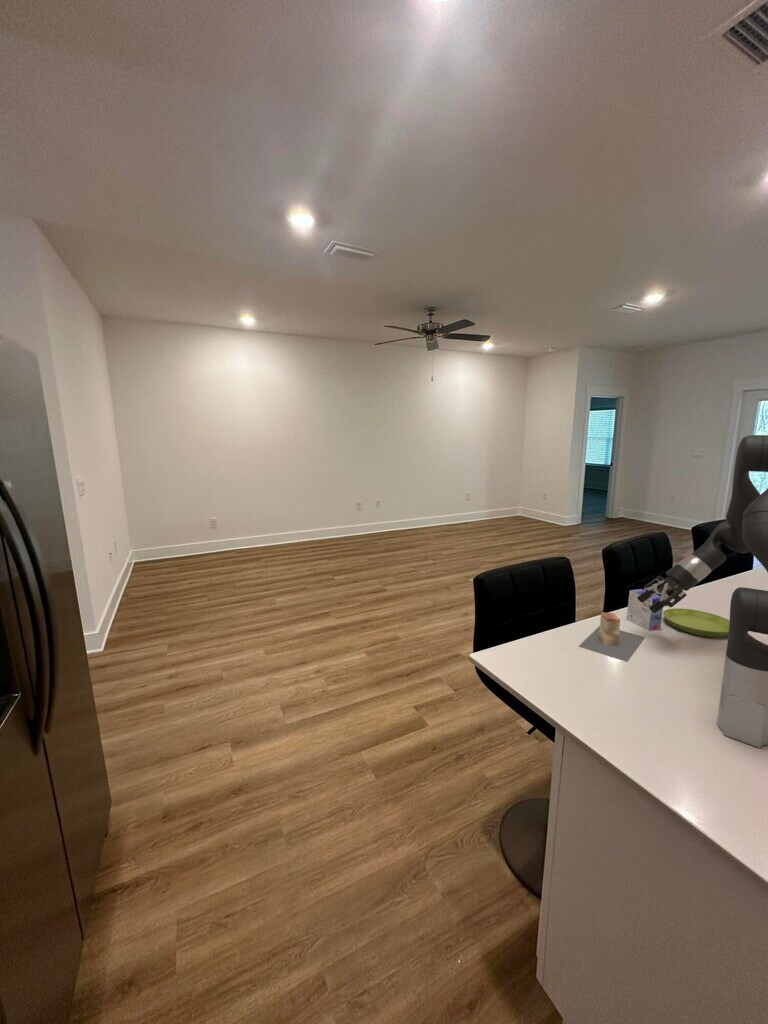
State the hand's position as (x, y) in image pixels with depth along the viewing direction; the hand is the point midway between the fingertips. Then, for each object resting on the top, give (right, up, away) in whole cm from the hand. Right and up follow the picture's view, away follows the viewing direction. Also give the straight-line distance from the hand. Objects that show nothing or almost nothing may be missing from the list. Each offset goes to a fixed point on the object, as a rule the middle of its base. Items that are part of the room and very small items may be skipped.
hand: (645, 605), depth 131 cm
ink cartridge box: (+10, -11, +16) cm, 22 cm away
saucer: (+28, -12, +15) cm, 34 cm away
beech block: (-10, -13, +4) cm, 16 cm away
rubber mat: (-8, -13, +4) cm, 16 cm away
